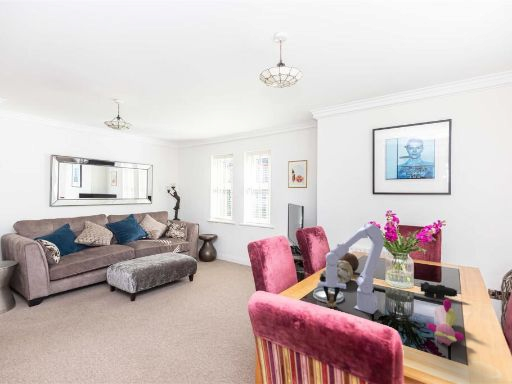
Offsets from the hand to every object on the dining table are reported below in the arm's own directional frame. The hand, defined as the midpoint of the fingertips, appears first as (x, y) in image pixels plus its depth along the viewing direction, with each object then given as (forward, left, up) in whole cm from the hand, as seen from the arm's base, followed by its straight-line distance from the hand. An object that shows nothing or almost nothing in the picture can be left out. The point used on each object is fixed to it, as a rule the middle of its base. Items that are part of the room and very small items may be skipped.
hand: (331, 301), depth 140 cm
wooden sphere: (+18, -62, -3) cm, 65 cm away
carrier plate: (+7, -10, -3) cm, 13 cm away
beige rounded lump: (+14, -36, -3) cm, 38 cm away
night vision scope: (-39, -54, -3) cm, 66 cm away
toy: (-48, -8, -3) cm, 49 cm away
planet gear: (0, 0, -2) cm, 2 cm away
